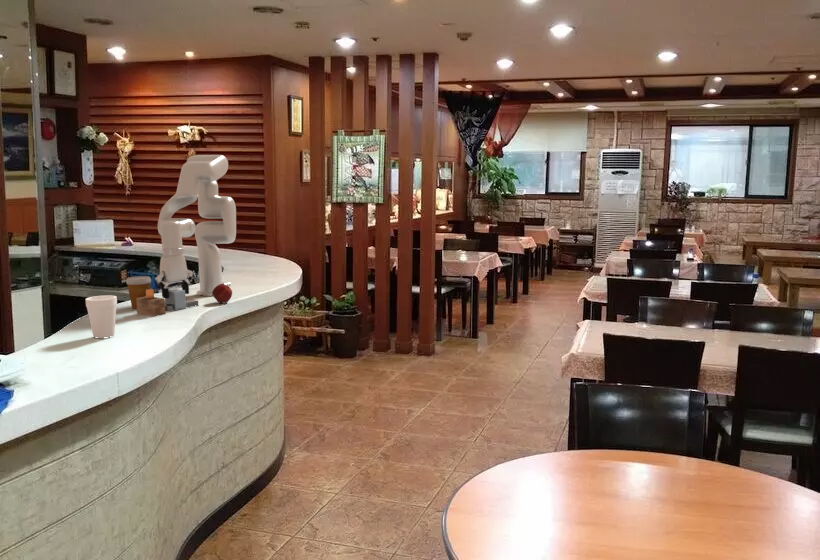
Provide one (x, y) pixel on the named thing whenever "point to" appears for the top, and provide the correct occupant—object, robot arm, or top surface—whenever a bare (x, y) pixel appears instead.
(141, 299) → the tan slotted block
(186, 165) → the robot arm
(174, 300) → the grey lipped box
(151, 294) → the peg
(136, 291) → the disposable coffee cup
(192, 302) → the rail
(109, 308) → the foam cup
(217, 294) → the apple
